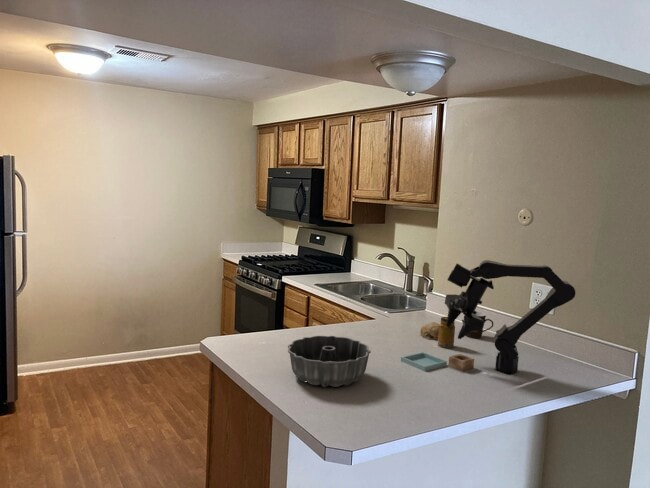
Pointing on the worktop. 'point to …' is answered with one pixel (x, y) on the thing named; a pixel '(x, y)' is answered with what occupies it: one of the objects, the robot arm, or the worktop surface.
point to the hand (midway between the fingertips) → (452, 332)
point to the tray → (423, 361)
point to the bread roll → (430, 331)
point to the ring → (461, 362)
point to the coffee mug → (478, 332)
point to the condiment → (446, 334)
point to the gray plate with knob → (461, 371)
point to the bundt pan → (328, 360)
